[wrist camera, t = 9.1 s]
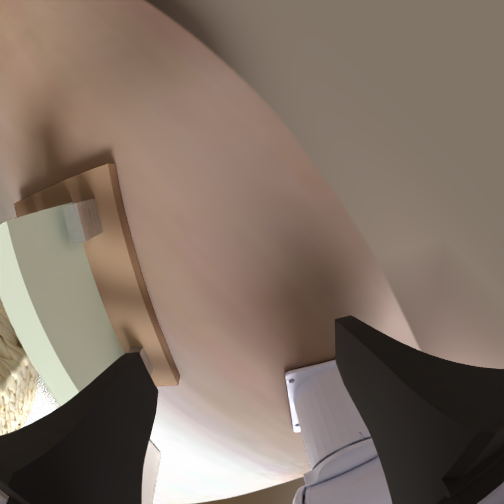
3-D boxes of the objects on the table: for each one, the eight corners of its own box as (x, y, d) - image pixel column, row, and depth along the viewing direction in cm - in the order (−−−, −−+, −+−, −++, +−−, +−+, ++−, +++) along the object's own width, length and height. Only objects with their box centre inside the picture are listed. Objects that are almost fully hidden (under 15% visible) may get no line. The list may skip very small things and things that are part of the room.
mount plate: (180, 376, 22) (178, 385, 21) (90, 379, 22) (86, 386, 20) (115, 163, 17) (107, 163, 15) (22, 201, 16) (14, 203, 15)
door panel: (131, 368, 20) (105, 429, 13) (103, 369, 20) (74, 424, 13) (72, 202, 16) (6, 221, 9) (44, 212, 16) (-20, 234, 9)
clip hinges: (153, 369, 20) (146, 389, 18) (88, 371, 20) (78, 388, 18) (95, 198, 16) (76, 202, 14) (29, 222, 16) (10, 229, 14)
